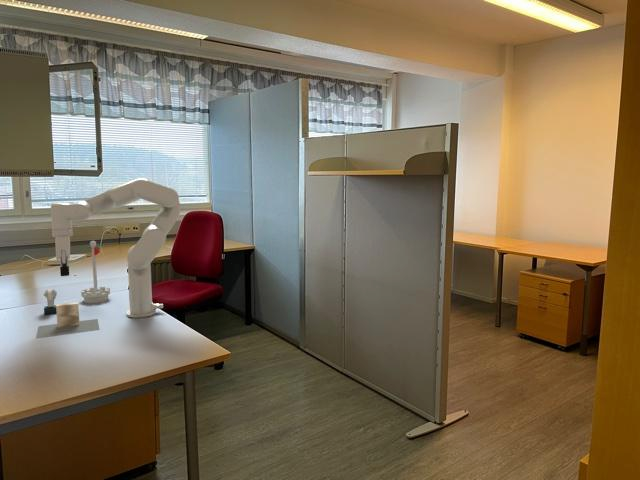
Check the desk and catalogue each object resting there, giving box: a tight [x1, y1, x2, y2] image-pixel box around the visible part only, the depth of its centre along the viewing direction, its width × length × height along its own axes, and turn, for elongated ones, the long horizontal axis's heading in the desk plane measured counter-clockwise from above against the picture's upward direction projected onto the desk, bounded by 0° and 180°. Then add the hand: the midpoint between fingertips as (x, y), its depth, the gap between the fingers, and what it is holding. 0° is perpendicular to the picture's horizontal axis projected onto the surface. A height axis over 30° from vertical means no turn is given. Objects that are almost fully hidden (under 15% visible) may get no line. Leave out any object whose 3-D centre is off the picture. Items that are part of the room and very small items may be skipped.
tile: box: [55, 301, 80, 327], centre depth 193 cm, size 8×2×9 cm, turn 118°
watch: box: [43, 288, 57, 316], centre depth 211 cm, size 6×8×11 cm
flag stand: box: [80, 240, 111, 304], centre depth 232 cm, size 13×13×30 cm
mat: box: [35, 318, 100, 339], centre depth 190 cm, size 22×16×1 cm
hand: (65, 275), depth 198 cm, fingers closed
